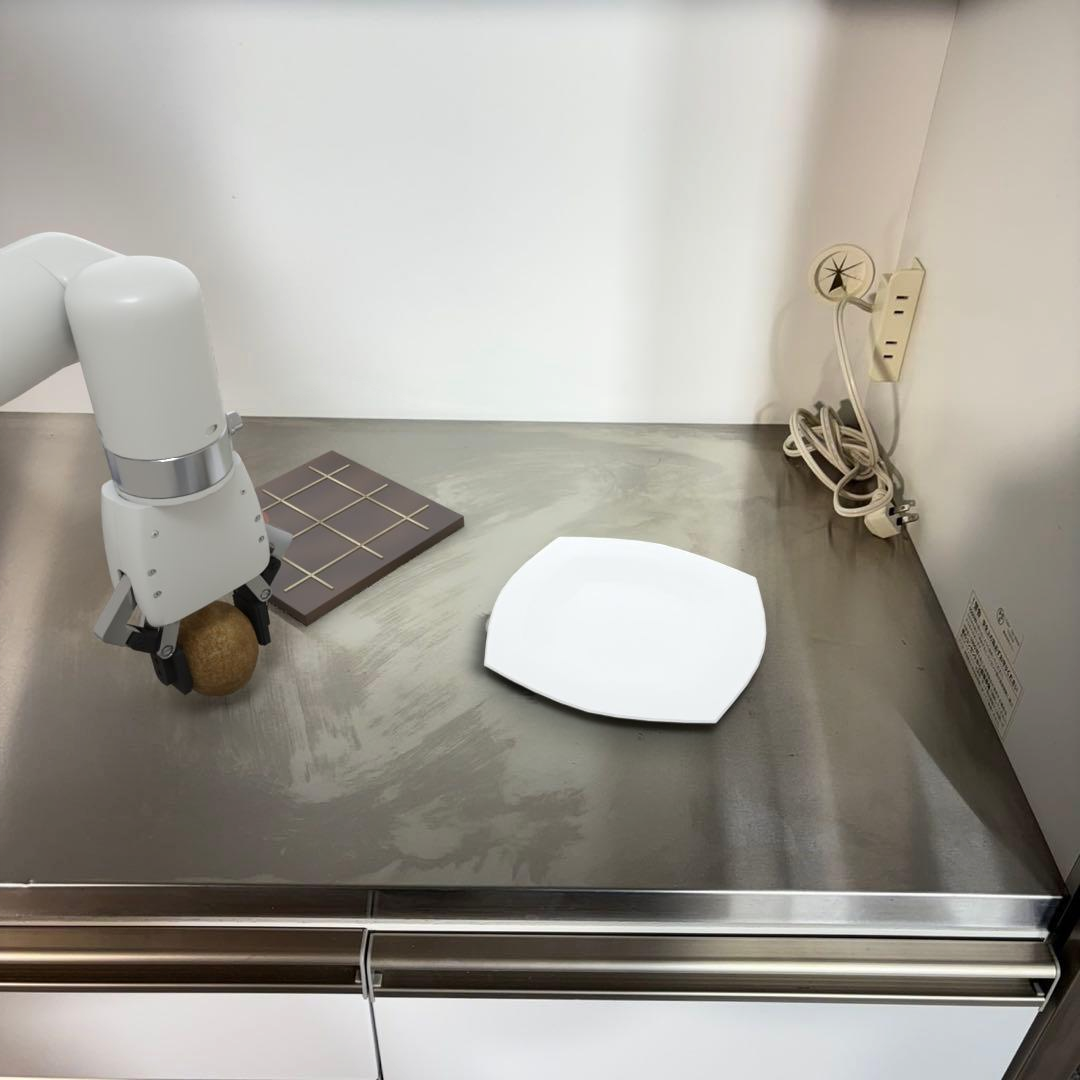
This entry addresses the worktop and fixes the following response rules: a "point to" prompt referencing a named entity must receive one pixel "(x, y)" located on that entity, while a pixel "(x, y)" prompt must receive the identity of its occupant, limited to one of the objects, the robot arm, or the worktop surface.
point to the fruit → (218, 648)
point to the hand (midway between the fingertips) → (217, 658)
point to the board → (345, 531)
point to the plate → (628, 630)
